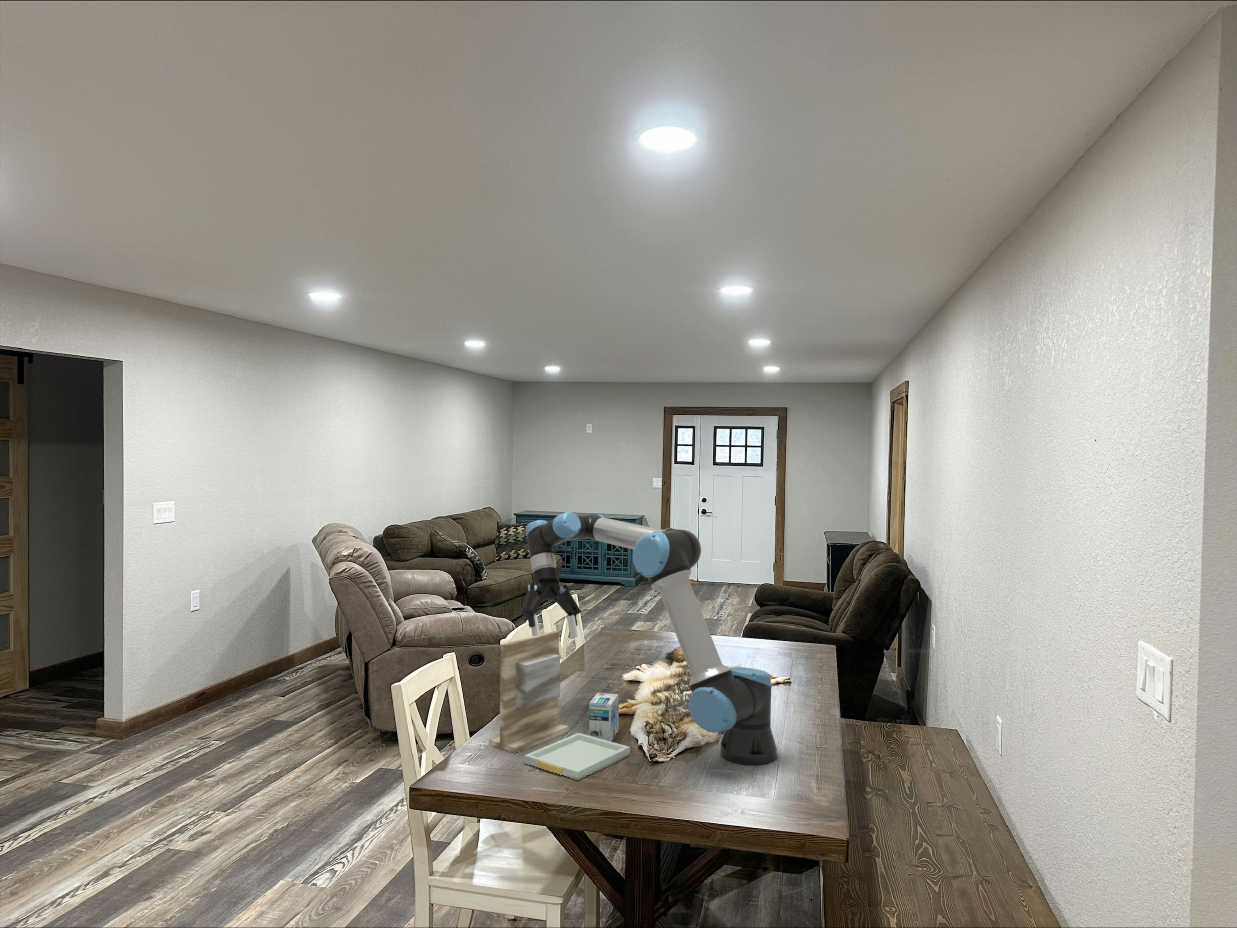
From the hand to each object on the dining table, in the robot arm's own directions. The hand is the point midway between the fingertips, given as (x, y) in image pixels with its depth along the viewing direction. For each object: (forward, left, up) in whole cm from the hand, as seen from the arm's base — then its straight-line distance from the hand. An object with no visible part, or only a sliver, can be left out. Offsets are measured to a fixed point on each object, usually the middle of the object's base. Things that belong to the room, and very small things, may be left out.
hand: (555, 638), depth 239 cm
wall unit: (-1, +12, -26) cm, 29 cm away
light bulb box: (-16, -3, -27) cm, 31 cm away
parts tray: (-22, +16, -26) cm, 38 cm away
